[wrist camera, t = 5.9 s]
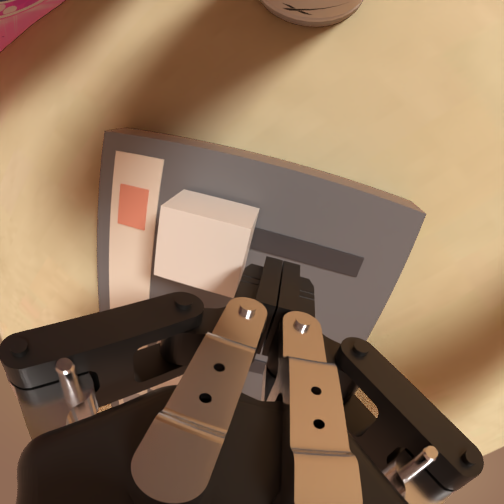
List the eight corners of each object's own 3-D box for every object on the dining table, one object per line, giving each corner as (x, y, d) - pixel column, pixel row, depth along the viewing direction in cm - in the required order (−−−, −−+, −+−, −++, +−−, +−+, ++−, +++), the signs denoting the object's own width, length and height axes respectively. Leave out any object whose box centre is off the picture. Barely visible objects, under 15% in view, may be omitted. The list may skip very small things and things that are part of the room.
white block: (259, 208, 16) (251, 229, 13) (244, 268, 17) (234, 298, 14) (183, 189, 16) (160, 205, 13) (175, 249, 17) (153, 274, 14)
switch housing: (411, 201, 17) (427, 215, 14) (287, 441, 28) (285, 462, 26) (126, 127, 17) (102, 131, 15) (121, 393, 29) (111, 411, 26)
